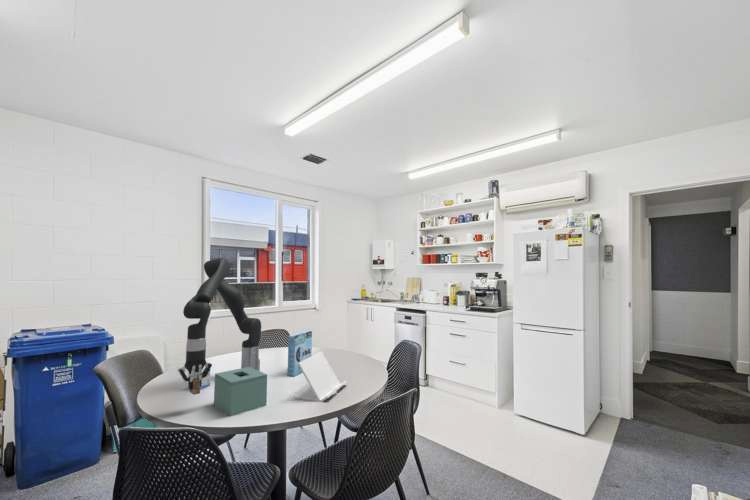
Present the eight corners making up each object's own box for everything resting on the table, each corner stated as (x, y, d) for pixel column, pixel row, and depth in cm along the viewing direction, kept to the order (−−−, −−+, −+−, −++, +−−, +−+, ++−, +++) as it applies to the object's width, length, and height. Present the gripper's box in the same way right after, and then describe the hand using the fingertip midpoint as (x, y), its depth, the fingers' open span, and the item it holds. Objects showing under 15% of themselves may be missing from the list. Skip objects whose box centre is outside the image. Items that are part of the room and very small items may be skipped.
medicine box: (199, 390, 168) (200, 372, 169) (191, 389, 169) (192, 372, 170) (210, 385, 176) (210, 368, 176) (202, 384, 177) (203, 368, 177)
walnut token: (195, 390, 146) (196, 377, 147) (199, 393, 143) (200, 380, 143) (189, 391, 145) (189, 379, 145) (193, 394, 141) (193, 381, 141)
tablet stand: (293, 398, 158) (293, 362, 159) (316, 382, 182) (317, 350, 183) (328, 403, 153) (328, 365, 154) (347, 385, 177) (347, 353, 178)
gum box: (294, 376, 191) (295, 336, 193) (286, 375, 193) (287, 335, 195) (311, 368, 210) (312, 331, 211) (304, 367, 211) (305, 330, 213)
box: (248, 395, 162) (249, 366, 163) (266, 405, 149) (267, 374, 150) (213, 404, 150) (215, 373, 151) (230, 416, 138) (231, 382, 139)
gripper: (209, 344, 153) (208, 383, 151) (175, 349, 143) (174, 391, 141) (215, 347, 147) (214, 387, 146) (181, 352, 137) (179, 395, 136)
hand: (194, 389), depth 144 cm, fingers closed on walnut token, 2 cm apart
